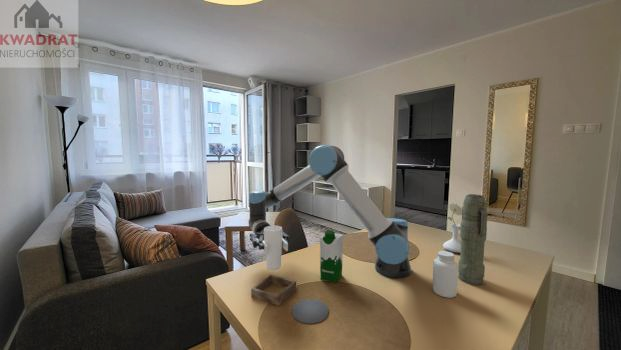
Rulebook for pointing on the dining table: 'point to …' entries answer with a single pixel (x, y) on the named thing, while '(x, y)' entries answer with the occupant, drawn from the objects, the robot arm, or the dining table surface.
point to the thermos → (473, 239)
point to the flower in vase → (454, 231)
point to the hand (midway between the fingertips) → (277, 248)
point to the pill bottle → (445, 274)
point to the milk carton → (331, 256)
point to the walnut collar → (270, 297)
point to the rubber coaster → (310, 311)
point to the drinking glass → (273, 246)
